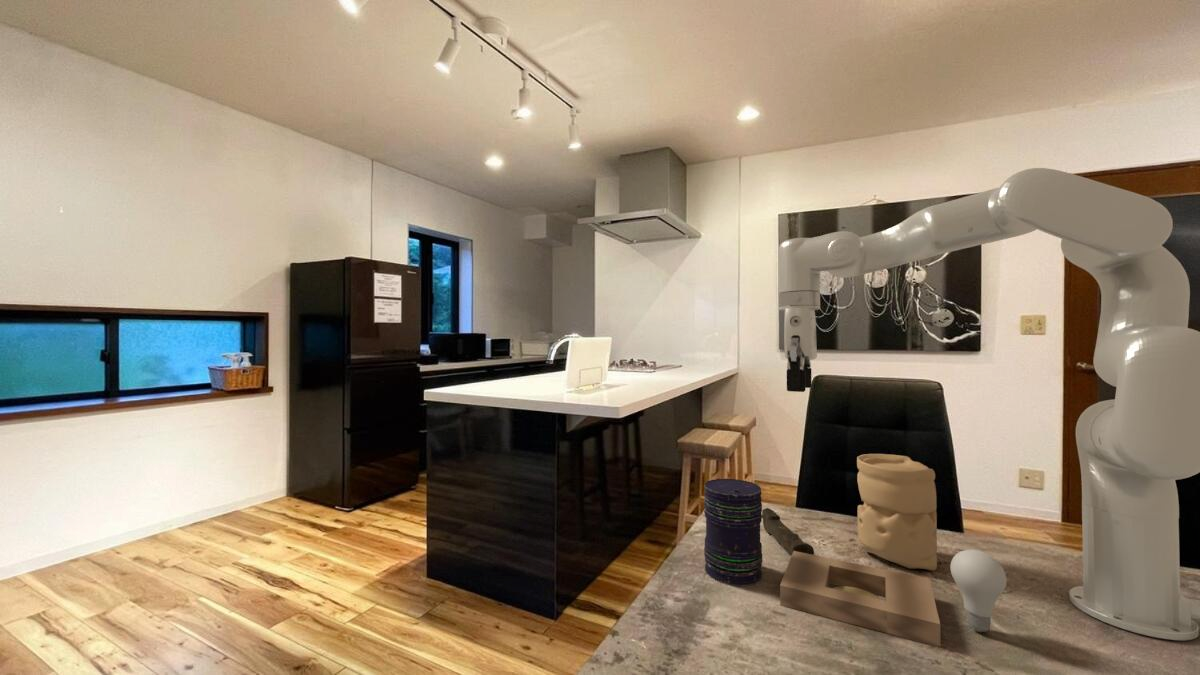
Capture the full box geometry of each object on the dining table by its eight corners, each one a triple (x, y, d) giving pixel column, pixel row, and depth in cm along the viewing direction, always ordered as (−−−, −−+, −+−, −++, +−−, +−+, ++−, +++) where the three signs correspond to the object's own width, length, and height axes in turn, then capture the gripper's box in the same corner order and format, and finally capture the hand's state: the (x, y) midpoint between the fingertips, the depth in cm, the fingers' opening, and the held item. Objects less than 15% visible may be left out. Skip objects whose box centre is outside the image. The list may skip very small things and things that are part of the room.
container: (912, 544, 94) (911, 454, 94) (953, 575, 81) (952, 471, 82) (846, 542, 95) (845, 452, 95) (877, 572, 82) (876, 469, 83)
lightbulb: (941, 624, 67) (940, 546, 67) (967, 614, 69) (966, 539, 70) (990, 649, 61) (989, 564, 62) (1017, 638, 64) (1016, 556, 64)
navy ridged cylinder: (699, 558, 88) (699, 478, 88) (752, 559, 87) (752, 478, 88) (710, 585, 78) (710, 495, 78) (770, 586, 77) (770, 495, 78)
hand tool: (814, 566, 85) (814, 540, 85) (792, 566, 85) (792, 540, 85) (776, 526, 104) (776, 505, 104) (758, 526, 104) (758, 505, 104)
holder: (929, 597, 74) (929, 578, 74) (940, 647, 62) (940, 624, 62) (793, 567, 84) (793, 550, 84) (780, 604, 72) (780, 585, 72)
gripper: (815, 297, 83) (815, 394, 83) (824, 304, 98) (824, 386, 98) (770, 299, 87) (771, 392, 87) (785, 306, 102) (786, 385, 102)
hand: (799, 389), depth 92 cm, fingers open, 9 cm apart
